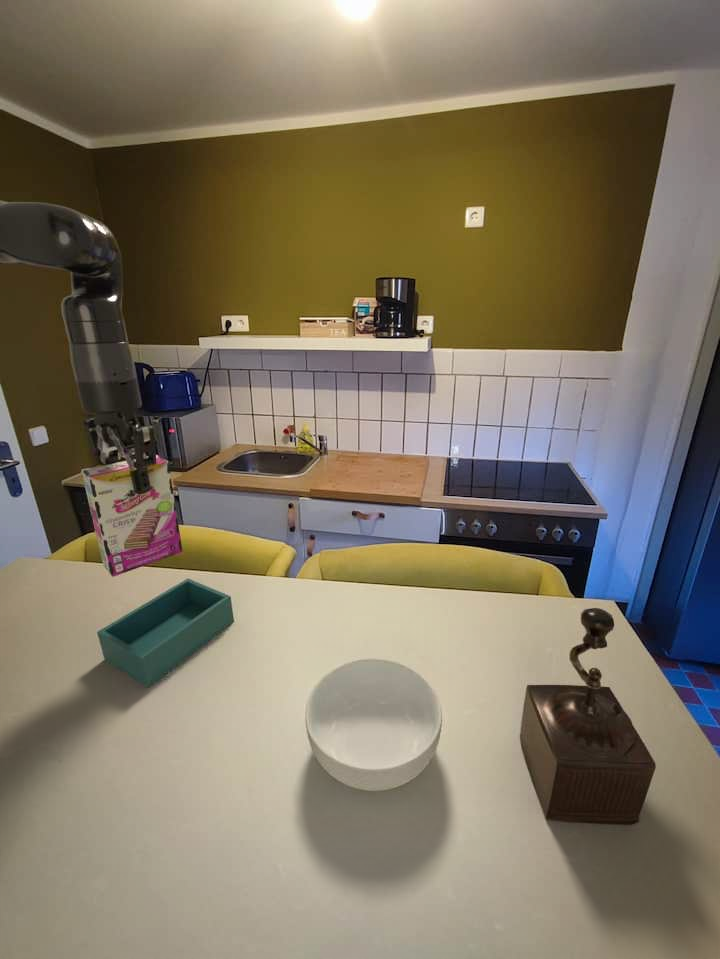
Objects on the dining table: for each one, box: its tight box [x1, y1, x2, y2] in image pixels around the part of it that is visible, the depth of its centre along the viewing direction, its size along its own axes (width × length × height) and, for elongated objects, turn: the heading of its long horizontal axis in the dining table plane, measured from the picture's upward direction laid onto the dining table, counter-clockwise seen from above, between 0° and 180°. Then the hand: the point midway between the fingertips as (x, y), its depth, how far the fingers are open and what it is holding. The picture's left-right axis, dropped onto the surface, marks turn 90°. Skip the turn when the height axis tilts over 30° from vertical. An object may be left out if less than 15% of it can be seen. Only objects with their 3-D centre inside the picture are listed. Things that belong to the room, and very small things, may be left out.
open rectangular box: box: [96, 578, 235, 688], centre depth 74 cm, size 12×18×6 cm, turn 150°
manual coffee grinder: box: [519, 607, 657, 826], centre depth 51 cm, size 16×11×18 cm
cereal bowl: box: [304, 657, 443, 792], centre depth 55 cm, size 17×17×7 cm
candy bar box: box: [80, 454, 183, 578], centre depth 67 cm, size 11×5×16 cm, turn 135°
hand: (130, 488), depth 65 cm, fingers closed on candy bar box, 5 cm apart
